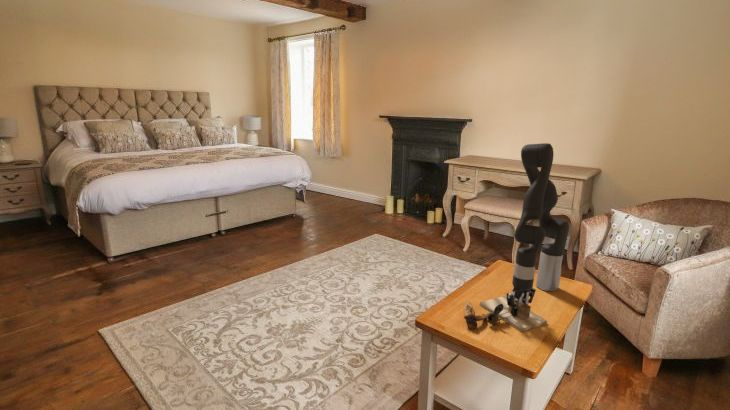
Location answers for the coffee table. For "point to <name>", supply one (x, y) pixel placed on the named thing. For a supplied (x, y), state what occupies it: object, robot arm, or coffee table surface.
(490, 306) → the birch board
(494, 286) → the coffee table surface
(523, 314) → the block
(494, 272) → the coffee table surface
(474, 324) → the lashed bone hook
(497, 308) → the eagle figurine
